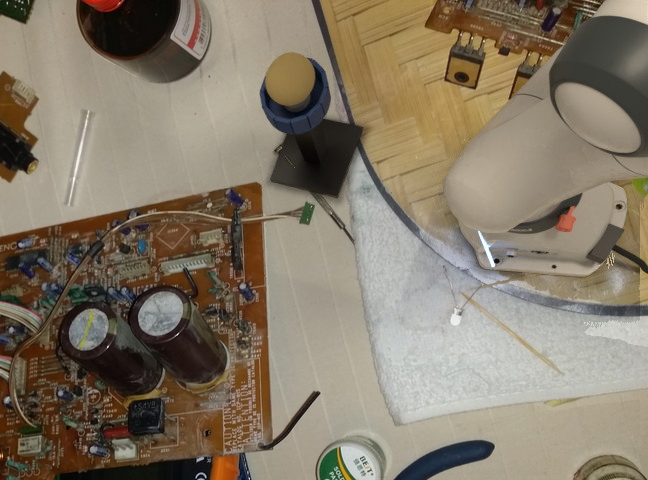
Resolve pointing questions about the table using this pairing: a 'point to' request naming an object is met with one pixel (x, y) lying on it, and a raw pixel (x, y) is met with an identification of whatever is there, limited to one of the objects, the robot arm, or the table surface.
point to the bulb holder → (306, 117)
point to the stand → (318, 158)
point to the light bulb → (290, 81)
